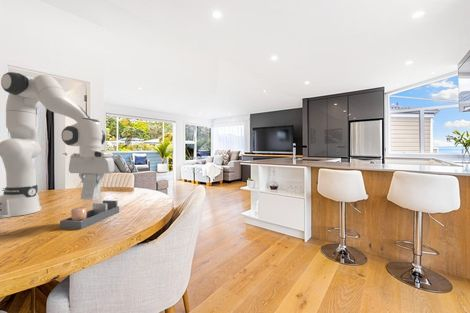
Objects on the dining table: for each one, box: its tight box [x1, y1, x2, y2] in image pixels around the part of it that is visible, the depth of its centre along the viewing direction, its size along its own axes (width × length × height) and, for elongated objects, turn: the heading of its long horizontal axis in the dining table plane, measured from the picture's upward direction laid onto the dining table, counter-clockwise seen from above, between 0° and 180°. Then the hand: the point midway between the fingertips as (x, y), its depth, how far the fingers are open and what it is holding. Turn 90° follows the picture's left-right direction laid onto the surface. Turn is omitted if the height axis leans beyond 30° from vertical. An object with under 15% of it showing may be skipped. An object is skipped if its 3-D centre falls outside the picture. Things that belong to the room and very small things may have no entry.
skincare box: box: [80, 173, 102, 201], centre depth 97 cm, size 6×4×12 cm
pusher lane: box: [59, 199, 120, 230], centre depth 98 cm, size 10×24×7 cm, turn 174°
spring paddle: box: [92, 202, 107, 216], centre depth 102 cm, size 7×1×6 cm, turn 85°
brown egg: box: [70, 206, 87, 221], centre depth 90 cm, size 5×5×7 cm
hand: (91, 183), depth 97 cm, fingers closed on skincare box, 6 cm apart
